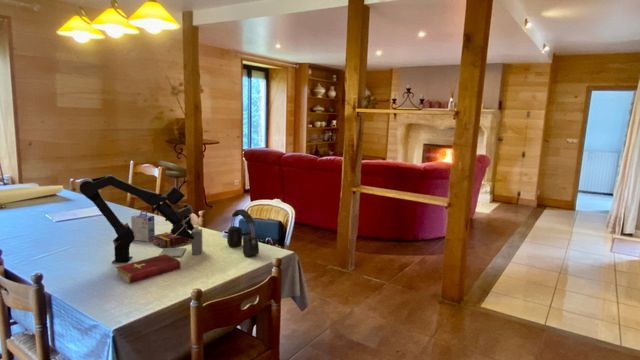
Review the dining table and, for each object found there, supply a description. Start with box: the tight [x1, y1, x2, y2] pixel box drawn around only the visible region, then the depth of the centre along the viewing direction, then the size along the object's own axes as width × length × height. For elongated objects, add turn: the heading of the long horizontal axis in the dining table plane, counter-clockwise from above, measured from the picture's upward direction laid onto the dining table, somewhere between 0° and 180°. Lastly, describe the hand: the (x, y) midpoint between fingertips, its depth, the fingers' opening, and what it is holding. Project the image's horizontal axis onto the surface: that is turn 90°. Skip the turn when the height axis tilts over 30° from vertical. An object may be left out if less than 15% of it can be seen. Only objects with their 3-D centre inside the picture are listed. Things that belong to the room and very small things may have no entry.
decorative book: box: [152, 231, 192, 249], centre depth 193 cm, size 11×16×5 cm
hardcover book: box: [115, 254, 182, 285], centre depth 158 cm, size 12×21×4 cm, turn 139°
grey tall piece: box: [190, 225, 204, 256], centre depth 179 cm, size 4×4×13 cm
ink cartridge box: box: [130, 210, 156, 242], centre depth 196 cm, size 10×6×14 cm, turn 78°
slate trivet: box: [157, 247, 187, 258], centre depth 179 cm, size 10×10×1 cm
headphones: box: [226, 208, 260, 258], centre depth 184 cm, size 22×6×20 cm, turn 40°
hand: (195, 235), depth 179 cm, fingers open, 9 cm apart
